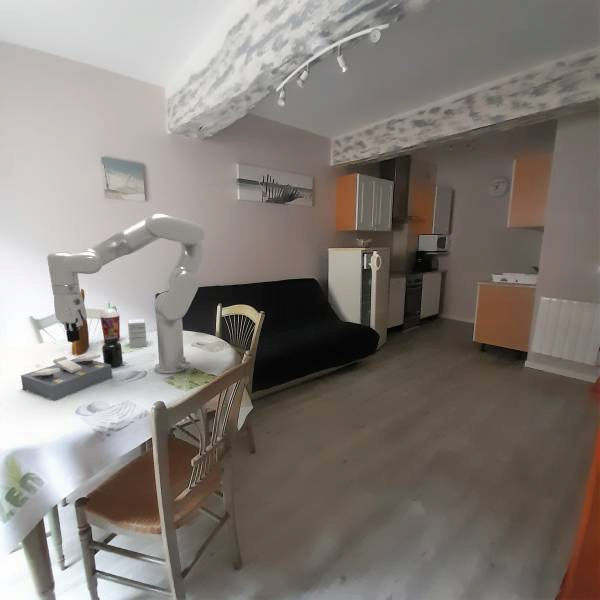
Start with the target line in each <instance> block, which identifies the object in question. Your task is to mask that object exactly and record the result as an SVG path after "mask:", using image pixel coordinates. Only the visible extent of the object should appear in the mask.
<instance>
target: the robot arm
mask: <svg viewBox="0 0 600 600" xmlns="http://www.w3.org/2000/svg"><path fill="white" fill-rule="evenodd" d="M204 238H205V231H204V228H203V226H202V225H200V224H199V223H197V222H194V221H192V220H188V219H184V218H180V217H175V216H172V215H167V214H164V213H154V214H151V215H150V216H147V217H145V218H144V219H141V220H139V221H137V222H136V223H133V224H132V225H130V226H128V227H126V228H124V229H121V230H120V231H118V232H116V233H115V234H113V235H112V236H110V237H109V238H107V239H105V240H103V241H101V242H99V243H97V244H95V245H93V246H92V247H89V248H88V249H85V250H83V251H82V252H76V253H72V252H69V251H68V252H61V251H60V252H51V253H49V254H48V255H47V264H48V271H49V276H50V283H51V290H52V295H53V304H54V305H53V307H54V314H55V318H56V320H57V321H58V322H59V323H60V324H62V325H63V327H64V331H65V332H66V338H67V339H66V340H67V342H68V343H72V342H74V341H78V340H80V336H79V326H83V322H82V321H85V320H87V319H88V318H87V317H88V315H87V310H86V305H85V300H84V301H83V298H82V295H81V293H80V291H81V288H80V282H79V274H85V275H91V274H92V275H93V274H96V273H99V271H101V270H102V268H103V267H104V266H105V265H107V264H109V263H110V262H113V261H114V260H116V259H119V258H122V257H124V256H127V255H131V254H133V253H136V252H138V251H139V250H141V249H143V248H145V247H147V246H149V245H151V244H152V243H155V242H156V241H157V240H159V239H164V240H165V239H166V240H168V241H173V242H177V243H180V245H181V250H180V255H179V256H178V260H177V261H176V262H175V265H174V267H173V269H171V270H172V271H171V272H170V274H169V276H168V284H169V285H170V286H169V289H168V290H167V291H164V292H162V293H160V294H159V295H158V296H157V297H156V299H155V301H154V312H155V319H156V330H157V331H156V334H157V350H158V351H157V352H158V363H156V365H155V367H154V370H155V371H156V372H157V373H159V374H166V375H167V374H168V375H169V374H175V373H180V372H183V371H185V370H186V369H188V368H189V366H190V365H191V362H190V361H187V359H186V357H185V355H184V333H183V332H184V331H183V330H184V329H183V328H184V327H183V317H184V316H185V315H186V313H188V310H189V308H190V307H191V304H192V303H193V302H192V301H193V299H194V298H195V296H196V294H197V292H198V290H199V285H200V281H199V277H198V275H197V273H198V271H199V268H200V266H201V264H202V261H203V259H204V245H203V240H204ZM75 320H76V321H75ZM87 321H88V320H87Z"/></svg>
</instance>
